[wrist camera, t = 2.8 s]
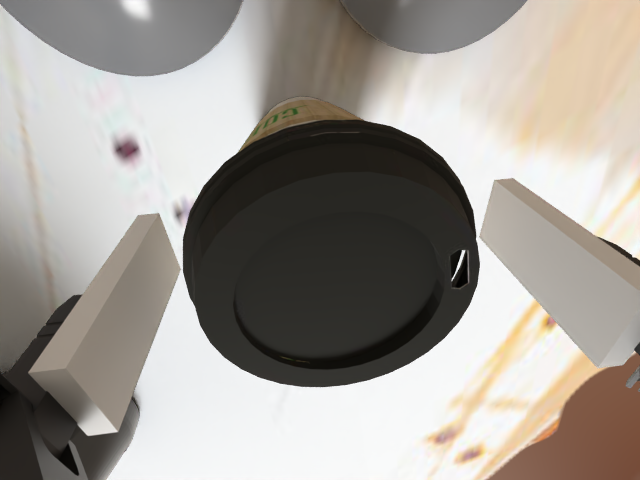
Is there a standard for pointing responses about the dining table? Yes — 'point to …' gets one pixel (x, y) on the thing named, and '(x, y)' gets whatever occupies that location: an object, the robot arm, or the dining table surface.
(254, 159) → the coffee cup
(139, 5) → the grey flat disc
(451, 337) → the dining table surface
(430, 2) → the dish low side
